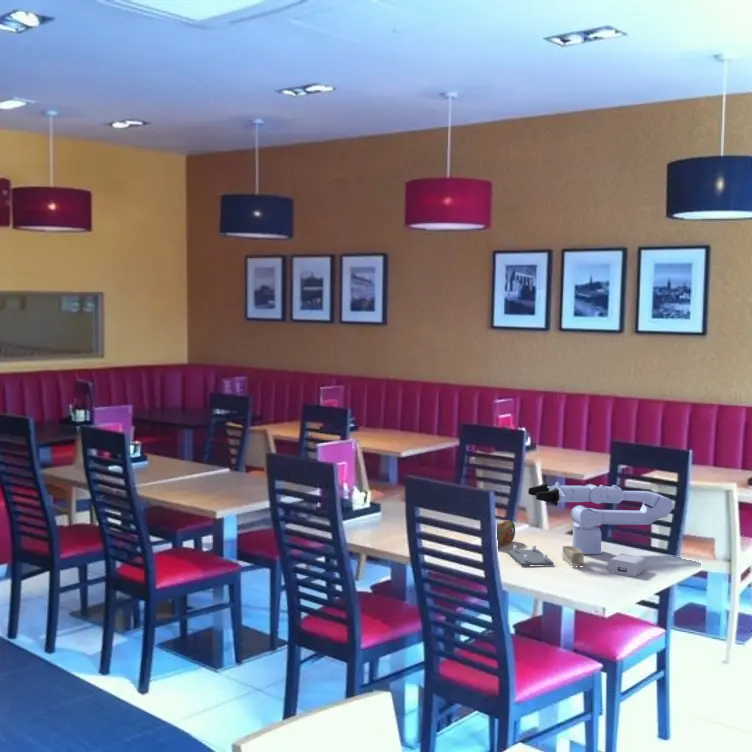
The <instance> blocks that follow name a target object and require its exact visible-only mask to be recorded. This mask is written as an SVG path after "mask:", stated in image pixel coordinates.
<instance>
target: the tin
mask: <svg viewBox="0 0 752 752" xmlns="http://www.w3.org/2000/svg"><path fill="white" fill-rule="evenodd" d="M496 523H497V540H498V547H497V548H502V547H505V546H506V545H507V546H508V545H509V544H511V543H512V542H513V540H514V539H515V534H516V527H515V523H514V521H513V520H511V519H508V520H507V519H503V520H501V521H498V522H496Z"/></svg>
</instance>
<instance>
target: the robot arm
mask: <svg viewBox="0 0 752 752" xmlns="http://www.w3.org/2000/svg"><path fill="white" fill-rule="evenodd" d="M527 491H528V492H527V493H528V495H530V496H536V497H535V499H536V500H537V501H542V502H546V503H549V504H552V505H555V506H558V503H585V502H587V503H589V502H592V503H593V504H596V505H600V504H602V503H604V504H620V503H621V502H622V501H630V502H638V503H639V502H640V503H642V504H641V507H640V509H639V510H629V509H628V510H626V509H625V510H624V509H623V510H622V509H596V508H591V507H590V508H589V507H586V506H584V505H580V504H578V505H576V506H574V507H573V508H572V509H571V511H570V517H571V520H572V521H573V526H572V546H575V547H576V548H578V549H579V550H580V551H582V552H583V553H584V555H602V553H603V552H602V531H601V529H600V526H601V525H634V526H635V525H637V526H640V525H641V526H642V525H643V526H644V525H645V526H646V525H647V526H648V525H651V524H653V523H654V522H656V521H659V520H660V519H663V518H667V517H668V515H669V514H670V513H671V512H672V510H673V507H674V503H673V501H672V500H671V498H669V497H667V496H663V495H661V494H660V493H658V492H656V491H655V492H654V491H652V492H651V491H649V490H623V489H622V488H621V487H620V486H618V485H615V484H612V485H611V486H606V485H603V484H599V486H598V485H595V484H592V483H589V484H585V485H560V482H558V481H555V484H554V485H551V486H548V482H543V483H542V484H540V485H539V484H538V485H537V486H532V487H531V486H530V487H529V488H528V490H527Z"/></svg>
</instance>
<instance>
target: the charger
mask: <svg viewBox="0 0 752 752" xmlns="http://www.w3.org/2000/svg"><path fill="white" fill-rule="evenodd" d="M646 569H647V559H646V558H645V557H643V556H638V555H632V554H627V553H619V554H618V555H615V556H614V557H611V558H610V559H609V560H608V572H609V573H611V572H614V573H613V574H616V573H617V574H616V575H621V574H622V576H627V577H632V578H635V577H637V576H638V575H640V574H642V573H643V572H645V571H646Z"/></svg>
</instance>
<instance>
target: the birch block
mask: <svg viewBox="0 0 752 752" xmlns="http://www.w3.org/2000/svg"><path fill="white" fill-rule="evenodd" d="M561 557H562V559H563V560H564V561H566V562H567V563H568V564H569V565H570V566H573V567H576V566H577V567H580V566H583V567H584V564H585V563H584V559H585V554H584V553H583V552H582V551H580V550H579V549H578V548H576V547H575V546H573V545H563V546H562V555H561ZM562 559H561V560H562ZM563 560H562V561H563ZM564 561H563V562H564ZM568 564H567V565H568ZM569 565H568V566H569ZM570 566H569V567H570Z"/></svg>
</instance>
